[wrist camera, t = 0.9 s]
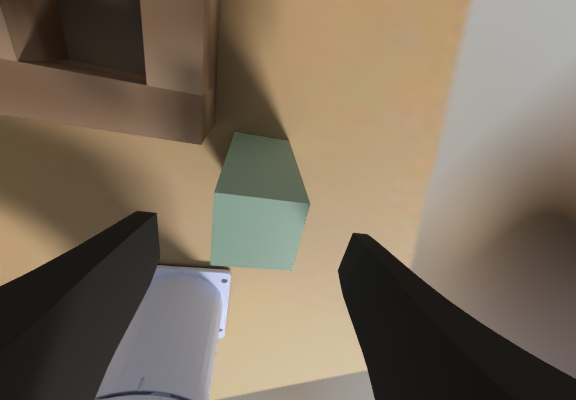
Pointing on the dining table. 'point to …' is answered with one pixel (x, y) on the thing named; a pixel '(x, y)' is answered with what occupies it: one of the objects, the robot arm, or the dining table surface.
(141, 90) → the hole block
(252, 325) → the dining table surface
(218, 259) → the square peg
